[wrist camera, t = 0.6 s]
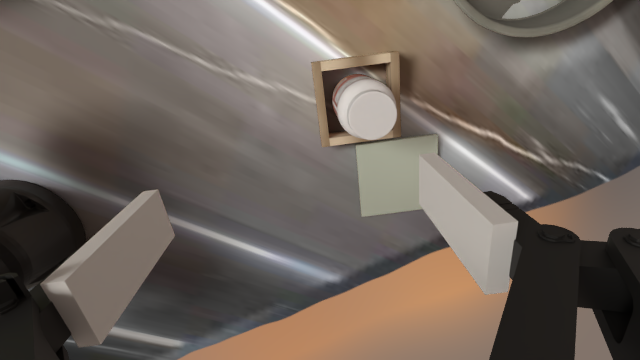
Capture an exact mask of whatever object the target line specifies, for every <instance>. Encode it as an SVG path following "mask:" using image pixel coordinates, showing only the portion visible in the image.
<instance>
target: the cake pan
mask: <svg viewBox="0 0 640 360" xmlns="http://www.w3.org/2000/svg"><path fill="white" fill-rule="evenodd" d="M454 1H455V3H456V4H457V5H458V6H459V7H460V9H461V10H462V11H463V12H464V13H465V14H466V15H467V16H468V17H469V18H471V19H472V20H473V21H475V22H476V23H477V24H479V25H481V26H482V27H484V28H486V29H488V30H491V31H493V32H496V33H499V34H503V35H507V36H512V37H539V36H544V35H549V34H553V33H556V32H559V31H562V30H565V29H568V28H570V27H572V26H574V25H577V24H579V23H581V22H582V21H584V20H586V19H588V18H589V17H591V16H593V15H594V14H596V13H597V12H599V11H600V10H602V9H603V8H604V7H606V6H607V5H608V4H609V3H611V2H612V1H613V0H563V1H562V2H560V3H559V4H557V5H555V6H554V7H551V8H549V9H547V10H545V11H543V12H541V13H538V14H535V15H532V16H529V17H525V18H519V19H503V18H502V16H503V15H504V14H505V13H506V12H507V10H508V9H509V8H510V7H511V6H512V5H513V4H515V3H518V2H520V0H454Z"/></svg>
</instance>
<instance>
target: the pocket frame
mask: <svg viewBox="0 0 640 360" xmlns="http://www.w3.org/2000/svg"><path fill="white" fill-rule="evenodd" d="M380 63H386V86H387V87H388V88H389V89H390V90H391V92H392V93H393V96H394V98H395V101H396V109H397V119H396V122H395V125H394V127H393V128H392V130H391V131H390V132H389V133H388V134H387V135H385V136H384V137H382V138H379V139H376V140H380V139H388V138H395V137H401V116H400V67H399V52H398V51H391V52H384V53H376V54H369V55H362V56H354V57H347V58H339V59H332V60H324V61H317V62H311V64H312V72H313V80H314V88H315V96H316V104H317V112H318V120H319V128H320V136H321V143H322V147H327V146H335V145H342V144H350V143H357V142H365V141H373V140H366V139H361V138H357V137H354V136H352V135H350V134H349V133H348V132H347V131H342V132H334V133H329V132H328V124H327V115H326V106H325V98H324V89H323V80H322V71H328V70H336V69H343V68H350V67H358V66H365V65H373V64H380Z"/></svg>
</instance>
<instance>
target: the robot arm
mask: <svg viewBox="0 0 640 360" xmlns="http://www.w3.org/2000/svg"><path fill="white" fill-rule="evenodd" d="M419 204H420V205H421V207H422V208H423V209H424V211H425V212H426V214H427V215H428V216H429V218H430V219H431V221H432V222H433V223H434V225H435V226H436V227H437V229H438V230H439V232H440V233H441V234H442V236H443V237H444V239H445V240H446V241H447V243H448V244H449V245H450V247H451V248H452V249H453V251H454V252H455V254H456V255H457V256H458V258H459V259H460V260H461V262H462V263H463V265H464V266H465V268H466V269H467V270H468V272H469V273H470V274H471V276H472V277H473V279H474V280H475V281H476V283H477V284H478V285H479V287H480V288H481V290H482V291H483V292H484V294H485V295H487V294H495V293H502V292H508V288H509V281H510V278H511V279H512V280H513V281H512V284H511V287H510V291H509V294H508V298H507V301H506V304H505V308H504V311H503V315H502V318H501V321H500V325H499V328H498V332H497V335H496V338H495V342H494V345H493V349H492V352H491V355H490V359H489V360H574V356H575V338H576V319H577V307H582V308H592V309H593V312H594V314H595V317H596V319H597V321H598V324H599V326H600V328H601V331H602V334H603V336H604V338H605V341H606V343H607V346H608V348H609V351H610V353H611V356H612V358H613V360H640V229H634V228H618V229H614V230H612V231H611V232H610V234H609V238H608V241H607V242H599V241H583V240H580V239H579V237H578V236H577V235H576V234H574V233H573V232H572V231H569V230H567V229H565V228H562V227H558V226H555V225H547V224H543V225H541V224H539V223H538V222H537V221H535V220H534V219H533V218H531V217H530V216H529V215H528V214H526V213H525V212H524V211H522V210H521V209H519V208H518V207H517V206H516V205H514V204H512V202H510V201H509V200H508V199H506V198H505V197H504V196H502V195H499V194H497V193H494V192H492V191H488V192H482V191H481V190H479V189H478V188H477V187H476V186H475V185H473V184H472V183H471V182H470V181H468V180H467V179H466V178H465V177H464V176H462V175H461V174H460V173H459V172H458V171H456V170H455V169H454V168H453V167H452V166H450V165H449V164H448V163H447V162H445V161H444V160H443V159H442V158H441V157H439V156H438V155H437V154H436V153H435V152H434V153H427V154H419ZM174 237H175V234H174V231H173V229H172V226H171V223H170V220H169V218H168V215H167V212H166V210H165V207H164V204H163V201H162V199H161V196H160V193H159V190H158V189H157V190H150V191H143V192H142V193H141V194H140V195H138V196H137V197H136V198H135V199H134V200H133V201H132V202H131V203H130V204H128V205H127V206H126V207H125V208H124V209H123V210H122V211H121V212H120V213H118V214H117V215H116V216H115V217H114V218H113V219H112V220H111V221H110V222H108V223H107V224H106V225H105V226H104V227H103V228H102V229H101V230H100V231H99V232H97V233H96V234H95V235H94V236H93V237H92V238H91V239H90V240H89V241H87V242H86V243H85V234H84V230H83V227H82V224H81V222H80V220H79V218H78V217H77V215H76V214H75V212H74V211H73V210H72V209H71V208H70V207H69V205H67V204H66V203H65V202H64V201H63V200H62V199H61V198H59V197H58V196H56V195H55V194H53V193H52V192H50V191H48V190H46V189H44V188H42V187H40V186H37V185H34V184H31V183H28V182H23V181H17V180H0V360H69V356H68V352H67V350H66V349H65V347H64V346H63V344H64V343H65V341H66V340H67V339H68V338H69V336H70V335H71V336H72V337H73V339H74V340H75V342H76V344H77V345H78V347H85V346H93V345H101V344H102V342H103V341H104V339H105V338H106V336H107V335H108V333H109V332H110V330H111V329H112V327H113V326H114V325H115V323H116V322H117V320H118V319H119V317H120V316H121V314H122V313H123V311H124V310H125V308H126V307H127V305H128V304H129V303H130V301H131V300H132V298H133V297H134V295H135V294H136V292H137V291H138V289H139V288H140V286H141V285H142V283H143V282H144V281H145V279H146V278H147V276H148V275H149V273H150V272H151V270H152V269H153V267H154V266H155V264H156V263H157V261H158V260H159V259H160V257H161V256H162V254H163V253H164V251H165V250H166V248H167V247H168V245H169V244H170V242H171V241H172V239H173V238H174ZM34 286H35V287H34ZM32 287H34V288H33V289H32V290H31V291H30V292H29V291H28V289H30V288H32Z"/></svg>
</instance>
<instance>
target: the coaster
mask: <svg viewBox="0 0 640 360" xmlns="http://www.w3.org/2000/svg"><path fill="white" fill-rule="evenodd" d="M355 147H356V160H357V172H358V184H359V197H360V209H361V217H366V216H373V215H381V214H389V213H396V212H404V211H412V210H419V209H423V208H422V207H421V205H420V204H419V154H427V153H434V152H435V153H436V154H437V155H438V134H429V135H422V136H414V137H407V138H399V139H392V140H384V141H376V142H369V143H361V144H355Z"/></svg>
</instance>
